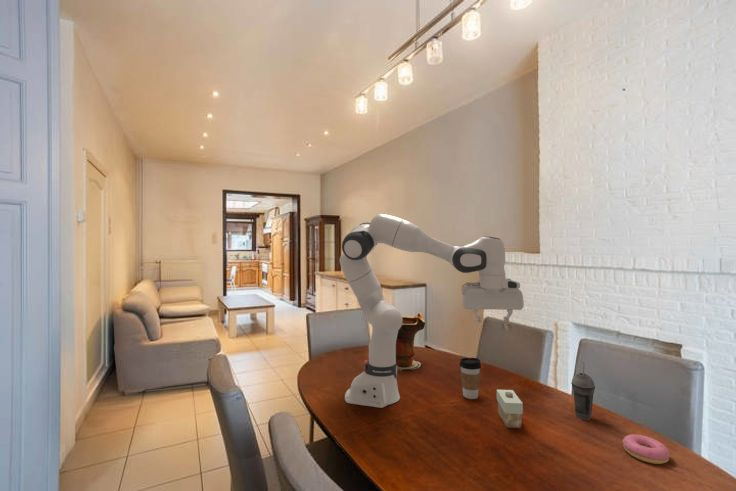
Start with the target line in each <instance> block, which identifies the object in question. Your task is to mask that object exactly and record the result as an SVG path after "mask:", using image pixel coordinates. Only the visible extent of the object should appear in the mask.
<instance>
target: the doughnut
mask: <svg viewBox="0 0 736 491" xmlns="http://www.w3.org/2000/svg"><path fill="white" fill-rule="evenodd" d="M622 445H623V446H622V447H623V448H624V450H625V451H626V452H627V453H628V454H629V455H631V456H632V457H634V459H637V460H639V461H641V462H645V463H648V464H655V465H662V464H663V465H664V464H665V463H668V462H669V460H670V457H671V453H670V451H669V449H668V448H667V446H665V444H663V443H662V442H661V441H660V440H657V439H656V438H655V439H654V438H652V436H651V437H650V436H646V435H644V434H638V433H637V434H636V433H635V434H627V435H626V436H624V437H623V439H622Z"/></svg>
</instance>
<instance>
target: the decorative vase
mask: <svg viewBox="0 0 736 491" xmlns="http://www.w3.org/2000/svg"><path fill="white" fill-rule="evenodd" d="M402 319H403V321H402V325H401V327H400V329H399V330H398V335H397V340H396V363H397V371H402V370H406V371H409V370H416V369H420V367H421V364H422V363H421V362H419V361H417V360H415V359H414V357H415V354H416V353H415V348H414V346H415V337H416V334H418V332H420V331H422V330H424V328H425V326H426V321H425V320H424V317H423V314H422V313H421V312H418V313H417V314H416V316H408V315H407V316H403V315H402Z"/></svg>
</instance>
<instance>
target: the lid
mask: <svg viewBox="0 0 736 491" xmlns="http://www.w3.org/2000/svg"><path fill="white" fill-rule="evenodd" d="M496 400H497V403H498V402H499V404H500V406H501V407H502V409H503V411H504V412H505V413H509V414H521V415H523V414H524V408H523V407H524V405H523V404H524V403H523V401H522V400H521V399H520V397H519V396H518V395H517V394H516V392H515V391H514V390H513V389H496Z"/></svg>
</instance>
